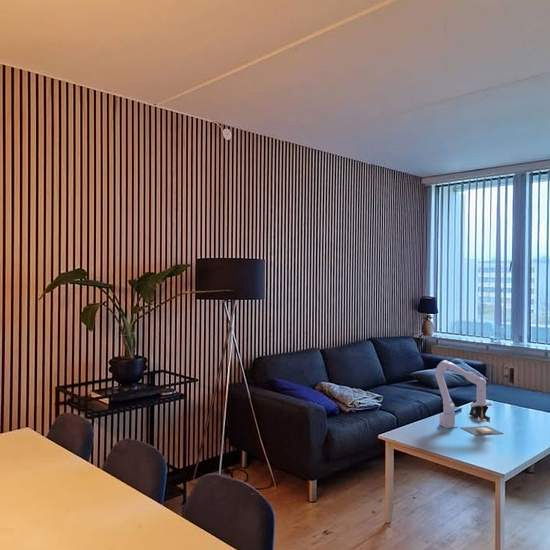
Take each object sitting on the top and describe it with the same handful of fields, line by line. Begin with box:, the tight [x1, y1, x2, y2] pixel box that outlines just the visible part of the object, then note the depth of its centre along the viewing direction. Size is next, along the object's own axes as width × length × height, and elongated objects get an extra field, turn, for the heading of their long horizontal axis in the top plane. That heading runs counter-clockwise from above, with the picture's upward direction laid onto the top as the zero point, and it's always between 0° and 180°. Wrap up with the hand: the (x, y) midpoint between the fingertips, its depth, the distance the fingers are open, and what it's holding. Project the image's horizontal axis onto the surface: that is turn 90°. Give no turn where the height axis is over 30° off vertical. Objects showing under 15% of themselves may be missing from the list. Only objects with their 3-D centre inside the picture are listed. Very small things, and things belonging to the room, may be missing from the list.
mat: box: [460, 425, 504, 437], centre depth 319 cm, size 20×16×1 cm
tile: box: [476, 427, 493, 434], centre depth 316 cm, size 7×2×7 cm
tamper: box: [476, 406, 486, 423], centre depth 320 cm, size 4×4×10 cm
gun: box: [468, 397, 491, 422], centre depth 347 cm, size 3×17×15 cm
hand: (481, 417), depth 320 cm, fingers closed on tamper, 2 cm apart
